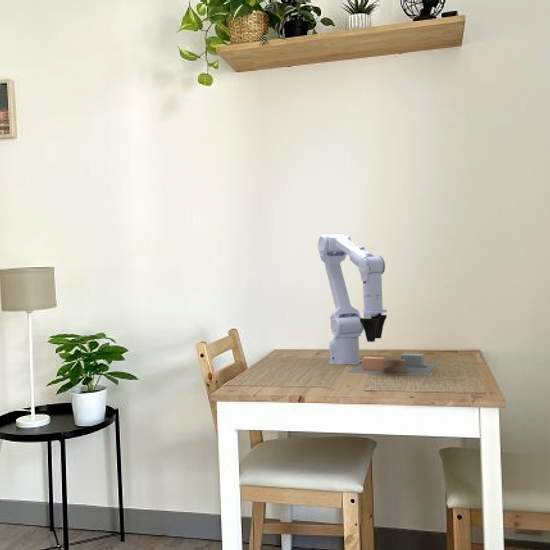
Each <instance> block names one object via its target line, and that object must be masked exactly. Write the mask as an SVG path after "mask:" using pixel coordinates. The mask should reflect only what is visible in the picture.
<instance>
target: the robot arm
mask: <svg viewBox="0 0 550 550" xmlns="http://www.w3.org/2000/svg"><path fill="white" fill-rule="evenodd" d="M317 249H318V254H319V257H320V260H321V262H323V263H324V266H325V271H326V275H327V279H328V282H329V286H330V291H331V295H332V299H333V303H334V307H335V310H334V311H333V312H332V313H331V314H330V317H329V319H330V329H331V334H332V335H334V336H331V337H330V339H329V345H328V346H329V364H340V365H341V364H342V365H346V364H347V365H359V364H361V363H362V359H360V341H359V340H360V338H359V337H361V336H362V335H361V334H362V333H363V331H364V334H365V338H366V341H367V343H369V342H370V343H373V342H374V343H375V341H376V339H381V338H382V335H383V329H384V325H385V322H386V320H387V316H388V315H387V314H384V313H387V312H388V311H387V309H383V304H384V303H383V279H382V275H383V274H384V272H385V270H386V262H385V260H384V259H385V258H383V256H382V255H377V256H375V255H374V254H373V253H372V252H371V251H368V250H367V249H366V247H365V246H363V245H358V246H356V244H354V242H352V241H351V236H350V235H348V234H347V233H340V234H338V233H337V234H324V233H322V234H320V236H319V238H318V241H317ZM347 255H348V256H349V260H350V262H351V263H353V264H354V265H355V266H357V268H358V271H359V274H360V279H361V282H362V290H363V291H362V292H363V295H362V296H363V297H362V298H363V317H362V316H361V314H360V310H359V309H357V308H355V307H354V306H352V305H351V301H350V297H349V294H348V293H349V292H348V289H347V286H346V282H345V278H344V275H343V271H342V265H341V263H342V262H343V261H345V260H346V257H347Z"/></svg>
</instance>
